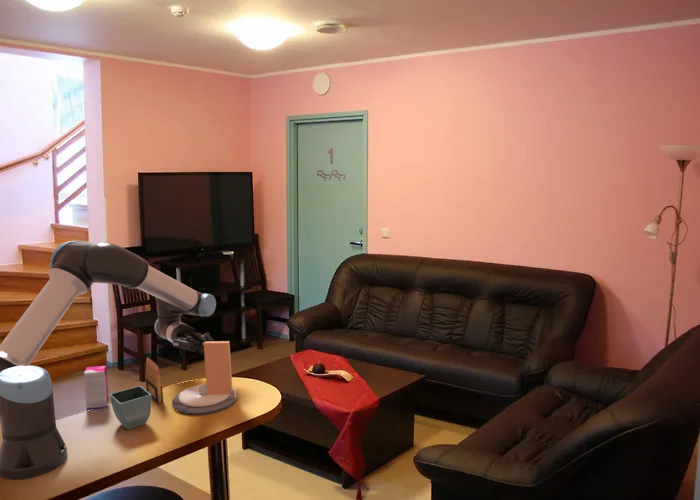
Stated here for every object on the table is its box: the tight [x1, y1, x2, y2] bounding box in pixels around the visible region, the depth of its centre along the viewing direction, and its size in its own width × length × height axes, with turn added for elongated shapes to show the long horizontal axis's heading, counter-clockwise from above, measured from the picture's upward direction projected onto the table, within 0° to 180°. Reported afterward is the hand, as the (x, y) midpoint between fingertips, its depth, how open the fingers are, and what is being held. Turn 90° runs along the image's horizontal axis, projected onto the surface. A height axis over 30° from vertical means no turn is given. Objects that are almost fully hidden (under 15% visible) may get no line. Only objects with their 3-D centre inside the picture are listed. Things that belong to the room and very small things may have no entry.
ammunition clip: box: [145, 356, 164, 405], centre depth 184 cm, size 11×2×12 cm, turn 35°
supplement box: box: [83, 365, 110, 411], centre depth 179 cm, size 6×6×12 cm
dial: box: [179, 340, 233, 407], centre depth 179 cm, size 16×15×17 cm
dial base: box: [171, 387, 238, 416], centre depth 181 cm, size 19×19×4 cm
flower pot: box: [109, 385, 152, 430], centre depth 166 cm, size 9×9×9 cm
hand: (214, 351), depth 184 cm, fingers closed
